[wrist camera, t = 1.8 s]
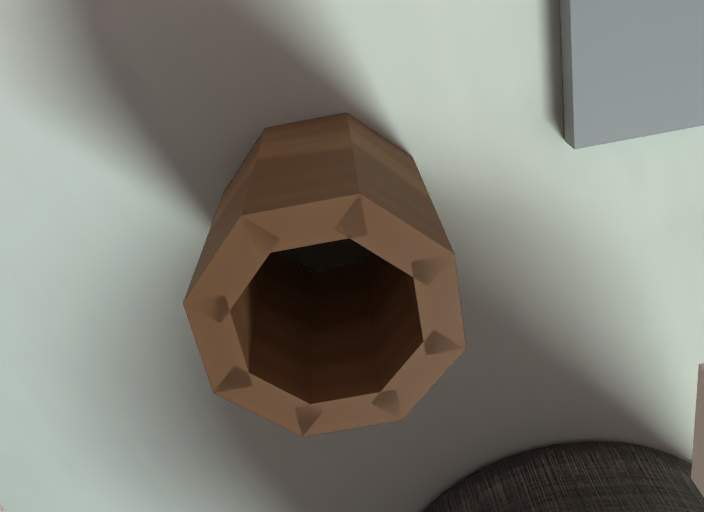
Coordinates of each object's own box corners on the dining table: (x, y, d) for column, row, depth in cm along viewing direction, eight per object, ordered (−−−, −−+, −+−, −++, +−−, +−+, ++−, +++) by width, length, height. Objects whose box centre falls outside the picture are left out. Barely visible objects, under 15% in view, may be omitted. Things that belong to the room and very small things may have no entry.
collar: (256, 307, 26) (232, 449, 19) (208, 139, 23) (158, 230, 16) (430, 276, 26) (472, 407, 19) (404, 101, 23) (444, 177, 16)
